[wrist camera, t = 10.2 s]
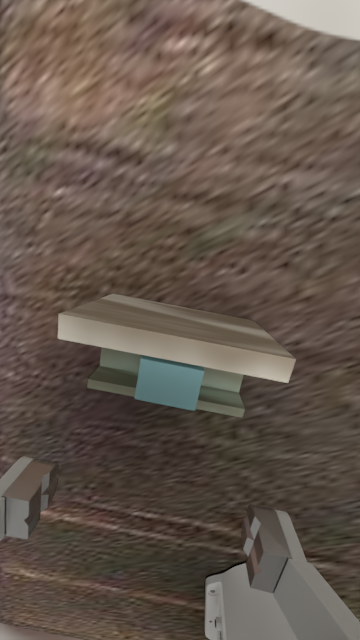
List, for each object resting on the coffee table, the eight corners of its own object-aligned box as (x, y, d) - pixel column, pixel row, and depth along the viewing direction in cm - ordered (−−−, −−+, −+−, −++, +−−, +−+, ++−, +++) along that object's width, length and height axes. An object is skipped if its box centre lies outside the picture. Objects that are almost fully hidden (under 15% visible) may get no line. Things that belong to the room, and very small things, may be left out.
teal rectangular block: (193, 375, 25) (193, 416, 18) (149, 366, 25) (133, 404, 18) (200, 341, 24) (204, 371, 17) (155, 332, 24) (140, 358, 17)
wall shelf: (236, 380, 30) (264, 451, 19) (106, 354, 30) (53, 410, 19) (252, 320, 28) (296, 359, 17) (113, 293, 28) (58, 313, 17)
